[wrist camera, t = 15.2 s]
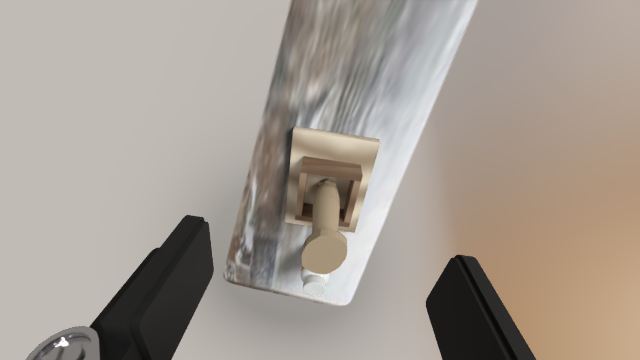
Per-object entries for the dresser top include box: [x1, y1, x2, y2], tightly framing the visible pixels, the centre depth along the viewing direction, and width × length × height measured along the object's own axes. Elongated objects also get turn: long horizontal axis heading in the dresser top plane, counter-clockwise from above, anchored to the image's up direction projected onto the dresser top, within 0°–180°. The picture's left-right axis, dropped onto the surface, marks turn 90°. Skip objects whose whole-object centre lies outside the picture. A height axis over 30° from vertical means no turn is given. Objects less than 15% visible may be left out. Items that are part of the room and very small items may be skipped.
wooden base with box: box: [285, 126, 380, 233], centre depth 42 cm, size 18×13×5 cm
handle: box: [301, 179, 347, 274], centre depth 36 cm, size 5×6×15 cm
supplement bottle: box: [301, 266, 330, 297], centre depth 48 cm, size 5×5×10 cm
